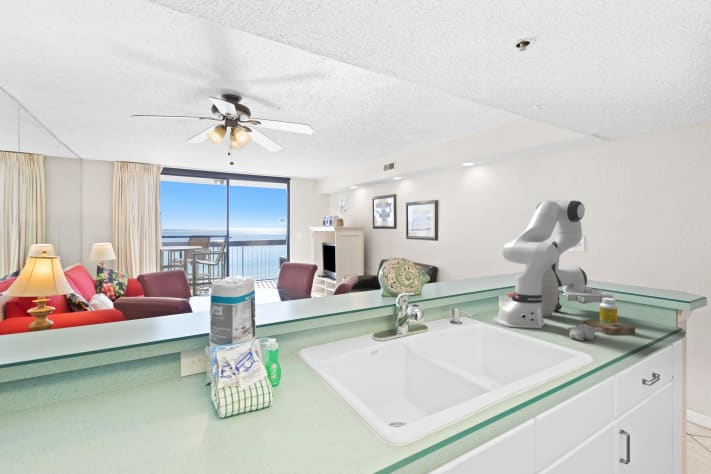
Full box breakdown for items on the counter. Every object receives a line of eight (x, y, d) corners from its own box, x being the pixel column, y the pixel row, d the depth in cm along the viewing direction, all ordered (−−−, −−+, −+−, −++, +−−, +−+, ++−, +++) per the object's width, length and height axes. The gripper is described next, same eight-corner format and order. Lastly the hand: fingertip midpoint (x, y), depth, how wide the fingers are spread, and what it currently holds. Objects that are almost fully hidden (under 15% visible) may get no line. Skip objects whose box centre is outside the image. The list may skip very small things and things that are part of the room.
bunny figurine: (561, 327, 136) (581, 318, 143) (562, 339, 136) (581, 330, 143) (586, 334, 128) (606, 324, 135) (587, 346, 128) (606, 336, 135)
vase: (532, 317, 165) (533, 262, 164) (527, 311, 177) (528, 260, 176) (561, 319, 161) (562, 263, 160) (553, 313, 173) (554, 260, 172)
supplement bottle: (600, 324, 145) (601, 299, 145) (598, 320, 151) (598, 296, 150) (618, 326, 142) (619, 300, 142) (615, 322, 148) (615, 298, 148)
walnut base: (605, 334, 140) (605, 328, 140) (583, 325, 152) (583, 320, 152) (635, 333, 141) (635, 327, 141) (611, 325, 153) (611, 319, 153)
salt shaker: (558, 310, 180) (559, 288, 179) (564, 313, 174) (564, 291, 173) (547, 310, 180) (547, 288, 180) (552, 312, 174) (553, 290, 174)
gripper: (560, 288, 173) (572, 293, 159) (604, 289, 168) (620, 295, 155) (560, 299, 173) (572, 306, 159) (604, 301, 169) (619, 308, 155)
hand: (596, 300), depth 157 cm, fingers open, 8 cm apart
